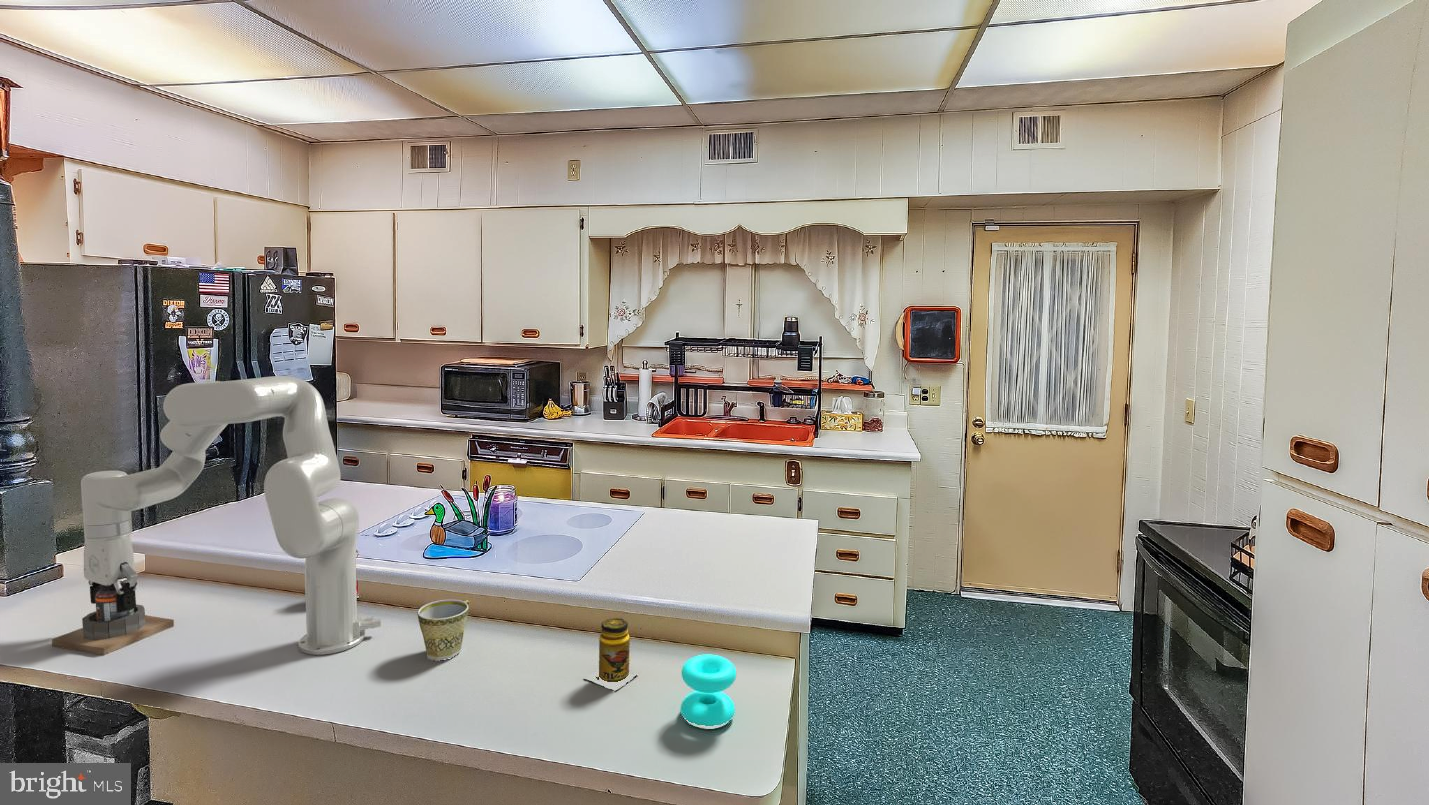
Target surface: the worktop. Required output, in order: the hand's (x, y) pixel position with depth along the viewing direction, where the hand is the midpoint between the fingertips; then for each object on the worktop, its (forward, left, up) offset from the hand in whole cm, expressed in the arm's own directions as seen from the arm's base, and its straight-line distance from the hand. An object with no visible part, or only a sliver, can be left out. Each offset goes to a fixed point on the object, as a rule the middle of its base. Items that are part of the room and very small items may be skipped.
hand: (113, 605), depth 141 cm
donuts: (-97, +89, -7) cm, 132 cm away
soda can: (-44, +1, -7) cm, 45 cm away
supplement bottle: (0, 0, -6) cm, 6 cm away
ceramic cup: (-61, +41, -7) cm, 74 cm away
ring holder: (0, 0, -7) cm, 7 cm away
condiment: (-87, +68, -7) cm, 111 cm away
